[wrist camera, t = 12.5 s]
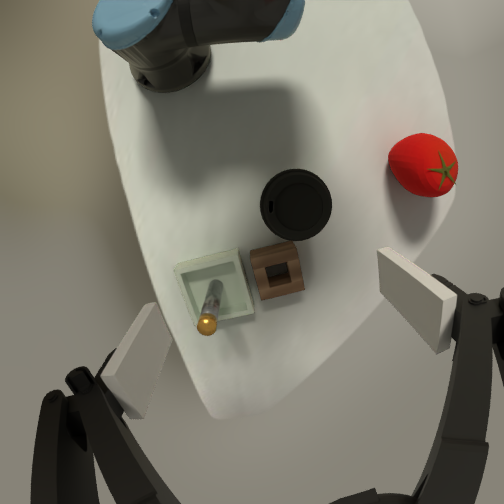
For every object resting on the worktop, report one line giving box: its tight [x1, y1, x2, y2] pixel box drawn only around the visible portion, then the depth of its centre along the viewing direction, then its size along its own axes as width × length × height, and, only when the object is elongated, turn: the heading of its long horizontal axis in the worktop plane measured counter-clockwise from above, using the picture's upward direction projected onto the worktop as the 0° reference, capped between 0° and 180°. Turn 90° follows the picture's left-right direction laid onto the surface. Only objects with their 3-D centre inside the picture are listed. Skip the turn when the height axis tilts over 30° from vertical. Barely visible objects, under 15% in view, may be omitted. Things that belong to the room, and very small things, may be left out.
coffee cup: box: [260, 169, 332, 241], centre depth 43 cm, size 10×10×15 cm
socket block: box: [250, 241, 305, 300], centre depth 52 cm, size 8×8×5 cm
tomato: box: [388, 133, 458, 197], centre depth 42 cm, size 13×11×14 cm
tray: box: [174, 248, 254, 326], centre depth 53 cm, size 12×12×4 cm
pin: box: [197, 279, 223, 336], centre depth 47 cm, size 3×3×15 cm
